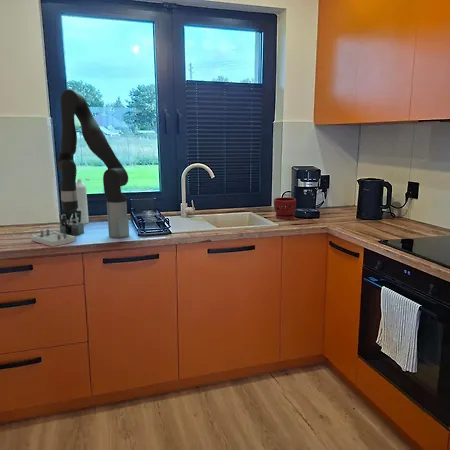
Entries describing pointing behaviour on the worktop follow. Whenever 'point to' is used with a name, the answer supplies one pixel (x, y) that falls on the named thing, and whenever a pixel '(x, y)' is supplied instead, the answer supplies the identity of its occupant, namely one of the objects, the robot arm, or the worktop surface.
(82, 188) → the water bottle
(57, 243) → the tray
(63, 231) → the block
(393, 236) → the worktop surface
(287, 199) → the plant pot
